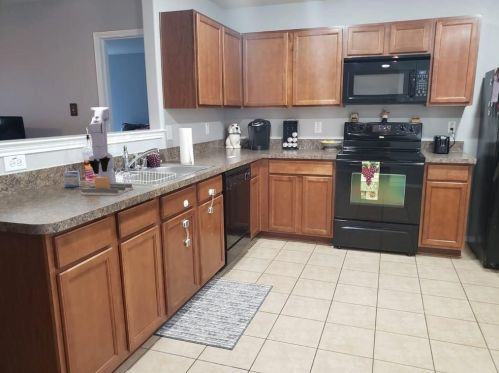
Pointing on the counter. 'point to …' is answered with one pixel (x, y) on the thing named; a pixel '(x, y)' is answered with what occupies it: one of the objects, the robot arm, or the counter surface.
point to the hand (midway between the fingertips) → (100, 172)
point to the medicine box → (72, 179)
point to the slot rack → (107, 190)
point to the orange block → (102, 182)
